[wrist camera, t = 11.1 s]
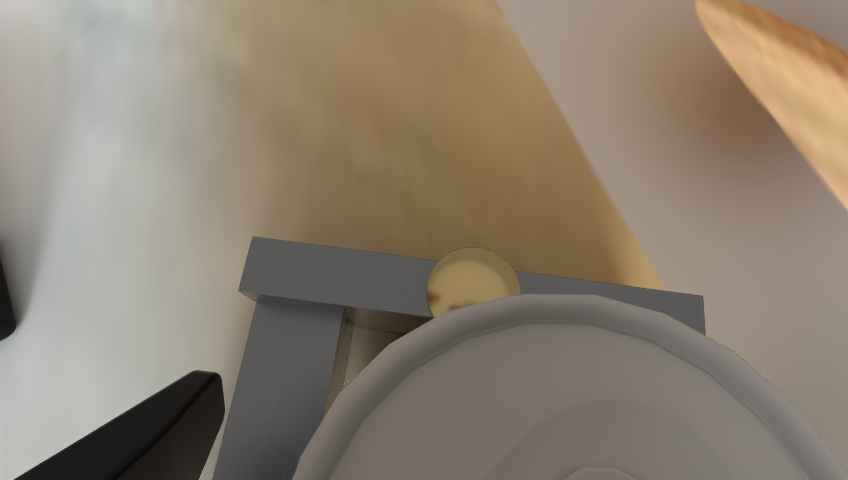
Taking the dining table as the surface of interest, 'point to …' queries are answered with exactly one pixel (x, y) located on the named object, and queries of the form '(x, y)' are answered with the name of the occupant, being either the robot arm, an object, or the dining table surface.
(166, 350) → the dining table surface
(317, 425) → the grey shallow tray
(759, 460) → the beverage can
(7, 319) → the battery
